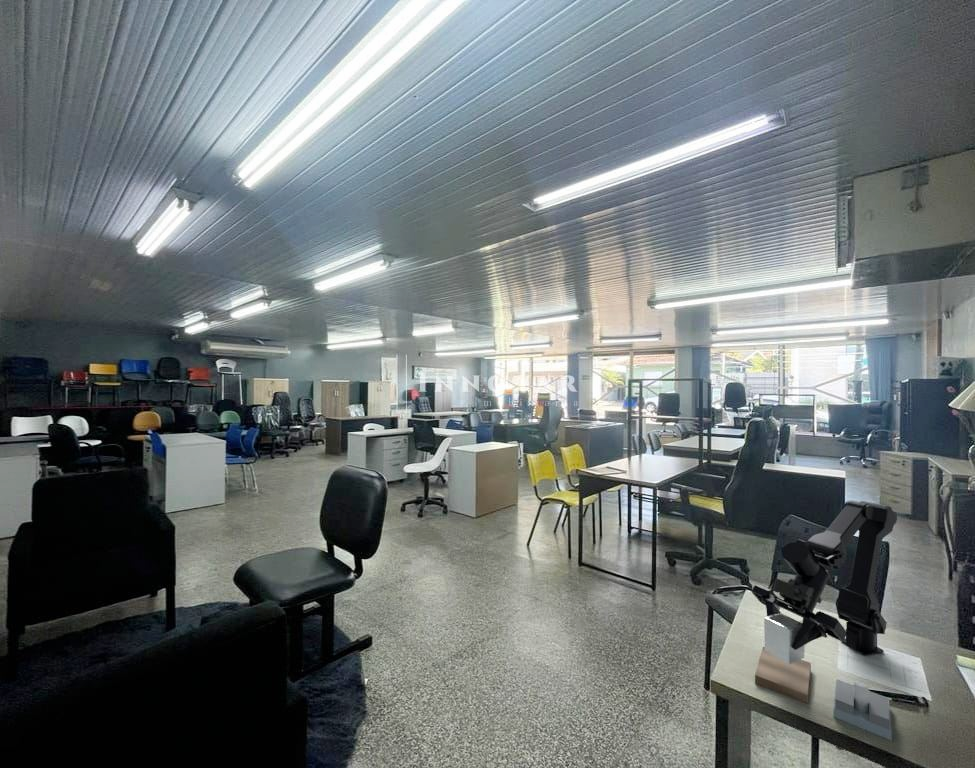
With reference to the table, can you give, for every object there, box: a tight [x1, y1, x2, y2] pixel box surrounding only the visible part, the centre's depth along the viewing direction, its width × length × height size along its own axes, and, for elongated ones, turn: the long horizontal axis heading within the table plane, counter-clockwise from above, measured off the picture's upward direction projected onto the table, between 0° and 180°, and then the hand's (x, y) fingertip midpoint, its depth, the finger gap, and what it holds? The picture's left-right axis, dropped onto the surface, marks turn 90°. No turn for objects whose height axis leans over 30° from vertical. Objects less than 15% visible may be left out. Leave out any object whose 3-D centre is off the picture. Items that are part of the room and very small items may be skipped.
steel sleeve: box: [763, 611, 805, 664], centre depth 100 cm, size 6×6×8 cm
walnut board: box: [754, 646, 812, 704], centre depth 102 cm, size 14×10×2 cm
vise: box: [832, 679, 893, 741], centre depth 91 cm, size 11×9×7 cm
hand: (780, 641), depth 99 cm, fingers closed on steel sleeve, 6 cm apart
